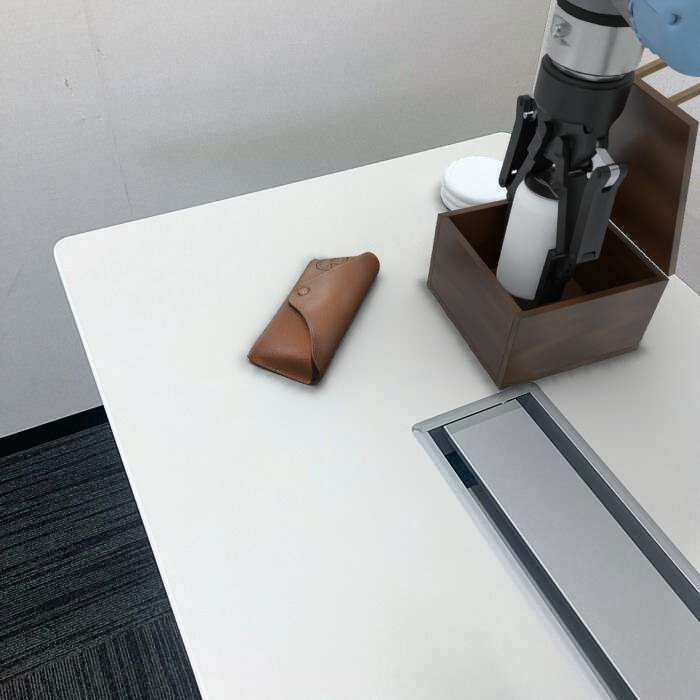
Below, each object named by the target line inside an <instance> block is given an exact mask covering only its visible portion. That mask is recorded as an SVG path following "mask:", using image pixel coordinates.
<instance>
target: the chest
mask: <svg viewBox="0 0 700 700" xmlns="http://www.w3.org/2000/svg"><path fill="white" fill-rule="evenodd" d="M507 206H508V201H507V199H504V200H499V201H495V202H490V203H485V204H480V205H476V206H471V207H466V208H462V209H457V210H452V211H451V210H447V211H443V212H439V213H437V216H436V222H435V230H434V236H433V243H432V249H431V255H430V261H429V267H428V273H427V274H428V276H427V280H426V286H427V287H428V289H429V290H430V292H431V293H432V294H433V296H434V298H435V299H436V300H437V302H438V303H439V304H440V306H441V307H442V309H443V310H444V312H445V313H446V315H447V316H448V318H449V319H450V320H451V322H452V323H453V325H454V326H455V327H456V329H457V330H458V332H459V333H460V335H461V336H462V338H463V340H464V341H465V342H466V344H467V345H468V347H469V348H470V350H471V352H473V354H474V355H475V357H476V358H477V359H478V362H479V363H480V364H481V365H482V367H483V368H484V369H485V371H486V373H487V375H489V377H490V378H491V380H492V381H493V383H494V384H495V385H496V387H497V389H498V390H499V391H503V390H505V389H509V388H512V387H515V386H518V385H522V384H525V383H528V382H529V383H530V382H533V381H536V380H539V379H542V378H545V377H546V378H547V377H549V376H553V375H556V374H559V373H562V372H563V373H564V372H567V371H570V370H573V369H576V368H580V367H584V366H587V365H590V364H593V363H596V362H601V361H604V360H606V359H610V358H613V357H617V356H620V355H623V354H627V353H631V352H634V351H637V350H638V349H639V346H640V345H641V342H642V341H643V338H644V335H645V333H646V331H647V329H648V327H649V325H650V322H651V321H652V319H653V316H654V314H655V312H656V310H657V307H658V305H659V304H660V301H661V300H662V299H661V298H662V297H663V295H664V292H665V290H666V288H667V286H668V284H669V281H670V278H669V277H667V276H666V275H665V274H664V273H663V272H662V271H661V270H660V269H659V268H658V267H657V266H656V265H655V264H654V263H653V262H652V261H651V260H650V259H649V258H648V257H647V256H646V255H645V254H644V253H643V252H642V251H641V250H640V249H639V248H638V247H637V246H636V245H635V244H634V243H633V242H632V241H631V240H630V239H629V238H628V237H627V236H626V235H625V234H624V233H622V232H621V231H620V230H619V229H618V228H617V227H616V226H615V225H614V224H613V223H612V222H611V221H610V220H609V221H608V225H607V229H606V232H605V236H604V239H603V243H602V247H601V250H600V254H599V257H598V259H596V260H592V261H588V262H584V263H580V264H576V267H575V270H574V273H573V276H572V279H571V280H570V281H569V282H566V285H565V288H564V291H563V294H562V297H561V300H558V301H554V302H550V303H547V304H543V305H539V306H537V305H536V304H535V303H534V301H529V300H523V299H519V298H516V297H514V296H512V295H510V294H509V293H508V292H507V291H506V289H505V288H504V287H503V286H502V284H501V283H500V282H499V281H498V279H497V276H496V273H497V268H498V263H499V258H498V253H499V249H500V245H501V240H502V236H503V232H504V228H505V225H504V219H505V215H506V210H507Z"/></svg>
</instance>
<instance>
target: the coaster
mask: <svg viewBox="0 0 700 700" xmlns="http://www.w3.org/2000/svg"><path fill="white" fill-rule="evenodd" d="M502 165H503V161H502V160H499V159H496V158H493V157H486V156H481V155H480V156H477V155H475V156H474V155H473V156H466V157H461V158H459V159H456V160H454V161H451V163H449V164H448V165H447V166H446V167H445V169H444V171H443V174H442V180H441V187H440V198H441V201H442V203H443V204H444V205H445V207H446V208H448V209H449V211H452V210H457V209H462V208H466V207H471V206H476V205H480V204H485V203H490V202H495V201H499V200H504V199H507V198H506V194H507V190H506V188H505V187H504V188H501V187H500V185H499V182H498V179H499V175H500V172H501V168H502ZM516 171H517V170H515V171H512V173H516Z"/></svg>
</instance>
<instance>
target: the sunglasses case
mask: <svg viewBox="0 0 700 700" xmlns="http://www.w3.org/2000/svg"><path fill="white" fill-rule="evenodd" d="M380 269H381V263H380V260H379V258H378V256H377V255H376V254H375V253H373V252H371V251H366V252H363V253H361V254H359V255H353V256H342V257H340V256H339V257H330V258H323V259H318V258H313V259H311V260H310V261H309V262H308V264H307V265H306V267H304V270H303V271H302V273H301V275H300V276H299V278H298V280H297V282H296V283H295V285H294V286H293V287H292V289H291V291H290V292H289V294H288V295H287V296H286V299H285V300H284V301H283V302H282V304H281V306H280V307H279V308H278V310H277V311H276V313H275V314H274V316H273V317H272V319H271V320H270V321H269V323H268V324H267V325H266V327H265V328H264V330H262V332H261V334H260V335H259V337H258V338H257V339H256V340H255V342H254V343H253V345H252V346H251V347H250V349H249V352H248V353H247V356H246V357H247V358H248V360H249V361H250V362H251V363H252V364H254V365H257V366H259V367H261V368H262V369H265V370H267V371H270V372H272V373H274V374H277V375H280V376H282V377H285V378H288V379H289V380H293V381H295V382H299V383H301V384H305V385H307V386H309V385H315V384H317V383H319V382H321V380H322V379H323V378H324V376H325V374H326V372H327V370H328V368H329V367H330V364H331V363H332V361H333V359H334V357H335V355H336V353H337V352H338V350H339V347H340V345H341V344H342V342H343V340H344V338H345V336H346V334H347V332H348V331H349V328H350V326H351V325H352V323H353V321H354V319H355V317H356V315H357V313H358V312H359V310H360V308H361V306H362V304H363V303H364V301H365V298H366V297H367V295H368V293H369V291H370V289H371V288H372V286H373V285H374V283H375V281H376V280H377V277H378V275H379V272H380Z"/></svg>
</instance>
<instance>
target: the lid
mask: <svg viewBox="0 0 700 700" xmlns="http://www.w3.org/2000/svg"><path fill="white" fill-rule="evenodd" d="M667 67H669V66H668V65H667V64H666V63H665V62H664V61H663V60H662V59H661V58H660V57H659V58H657V59H655V60H653V61H650V62H648V63H646V64H644V65H642V66H640V67H639V66H638V67H637V68H636V69H635V70H634V72H635V78H634V81H633V84H632V87H631V90H630V93H629V96H628V99H627V102H626V105H625V108H624V111H623V113H622V114H621V115H620V116H619V118H618V119H617V120H616V121H615V122H614V123H613V124H612V126H611V127H610V129H609V136H608V139H609V145H608V149H607V152H608V153H609V155H610V156H611V158H612V159H613V161H614V162H615V163H620V162H625V163H626V165H627V168H628V172H627V175H626V176H625V178H624V179H623V181H622V182H621V184H620V185H619V187H618V189H617V192H616V196H615V199H614V203H613V207H612V210H611V214H610V218H609V221H611V222H612V223H613V224H614V225H615V226H616V227H617V228H618V229H619V230H620V231H621V232H622V233H623V234H624V235H625V236H626V237H627V238H628V239H629V240H630V241H631V242H632V243H633V244H634V245H635V246H636V247H637V248H638V249H639V250H640V251H641V252H642V253H643V254H644V255H645V256H646V257H647V258H648V259H649V260H650V261H651V262H652V263H653V264H654V265H655V266H656V267H657V268H658V269H659V270H661V271H662V272H663V273H664V275H666V276H667V277H668V278H669V277H671V276H674V275H675V274H676V270H677V264H678V259H679V251H680V245H681V239H682V234H683V233H682V232H683V227H684V220H685V215H686V208H687V207H686V206H687V202H688V195H689V188H690V184H691V183H690V181H691V177H692V176H691V175H692V170H693V165H694V164H693V163H694V158H695V150H696V143H697V136H698V131H699V126H700V121H698V120H697V119H696V118H695V117H693V116H692V115H691V114H689V113H688V112H686V111H685V110H684V109H683V108H681V107H679V106H680V105H682V104H684V103H686V102H688V101H690V100H692V99H695V98H696V97H698V96H700V82H699V83H696V84H694V85H692V86H690V87H687V88H686V89H683V90H682V91H679V92H677V93H675V94H673V95H671V96H669V97H667V96H665V95H664V94H663V93H661V92H660V91H658V90H657V89H656V88H654V87H653V86H652V85H650V84H648V82H646V81H645V80H644V78H645V77H648V76H650V75H652V74H654V73H656V72H658V71H661V70H663V69H665V68H667ZM578 171H581V170H578ZM578 171H573V172H578Z"/></svg>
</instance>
